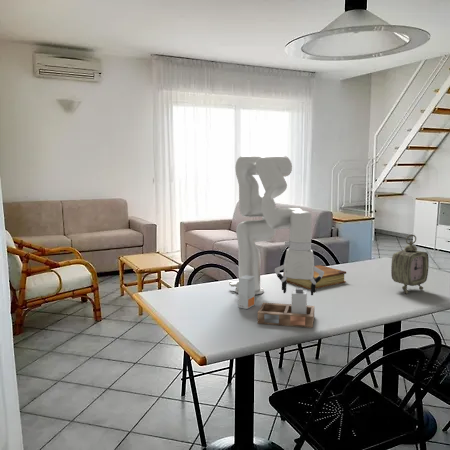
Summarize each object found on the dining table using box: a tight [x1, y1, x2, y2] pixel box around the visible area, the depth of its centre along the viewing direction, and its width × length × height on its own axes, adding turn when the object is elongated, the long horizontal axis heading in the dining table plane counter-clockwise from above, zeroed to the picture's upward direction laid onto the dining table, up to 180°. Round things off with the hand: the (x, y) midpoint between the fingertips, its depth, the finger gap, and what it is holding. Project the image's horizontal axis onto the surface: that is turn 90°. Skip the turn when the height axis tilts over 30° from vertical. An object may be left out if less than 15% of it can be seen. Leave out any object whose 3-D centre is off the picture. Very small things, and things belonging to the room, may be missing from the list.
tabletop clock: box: [390, 234, 430, 295], centre depth 194 cm, size 14×9×25 cm, turn 123°
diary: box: [282, 264, 347, 291], centre depth 212 cm, size 23×19×6 cm
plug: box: [291, 287, 308, 314], centre depth 157 cm, size 5×5×11 cm
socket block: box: [257, 302, 315, 329], centre depth 158 cm, size 19×12×4 cm, turn 76°
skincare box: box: [238, 275, 256, 310], centre depth 174 cm, size 6×4×12 cm
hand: (298, 293), depth 157 cm, fingers open, 9 cm apart
